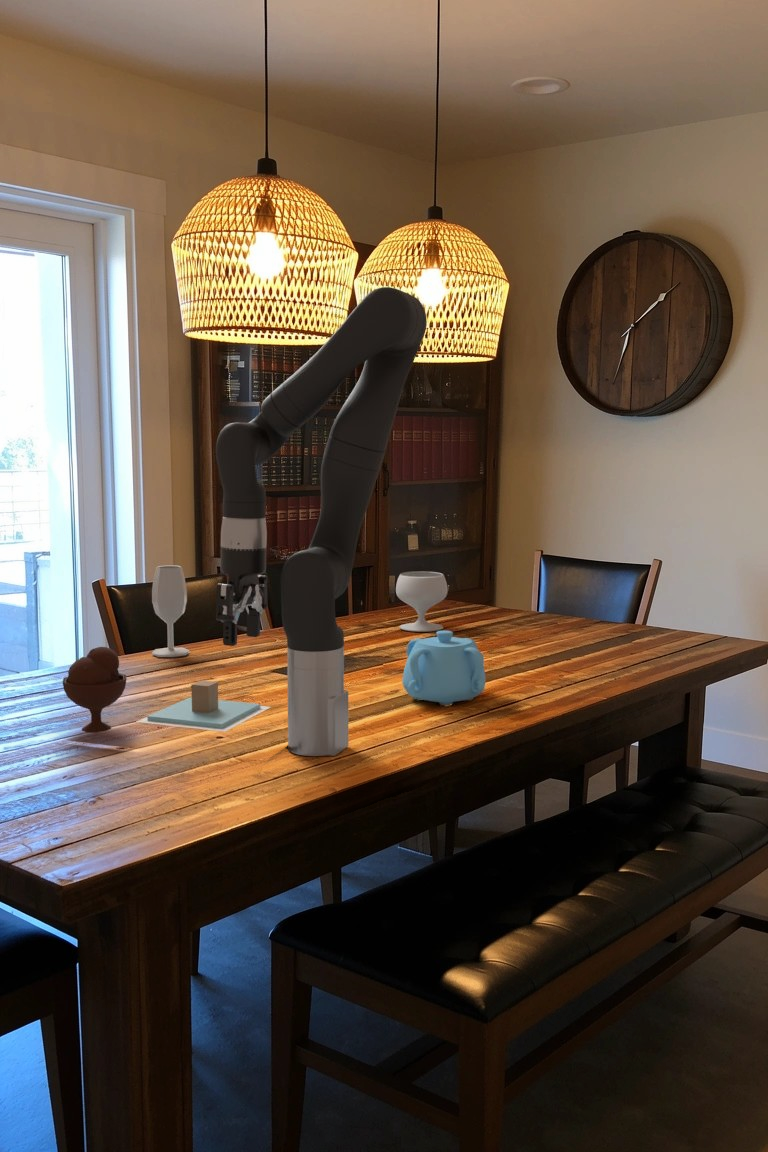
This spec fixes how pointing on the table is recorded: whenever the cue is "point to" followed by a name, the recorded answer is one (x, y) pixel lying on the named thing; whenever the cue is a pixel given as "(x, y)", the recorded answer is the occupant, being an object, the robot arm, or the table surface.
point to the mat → (228, 727)
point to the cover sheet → (204, 718)
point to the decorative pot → (444, 669)
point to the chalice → (421, 596)
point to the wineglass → (169, 604)
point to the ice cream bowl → (95, 684)
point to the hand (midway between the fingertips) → (241, 640)
